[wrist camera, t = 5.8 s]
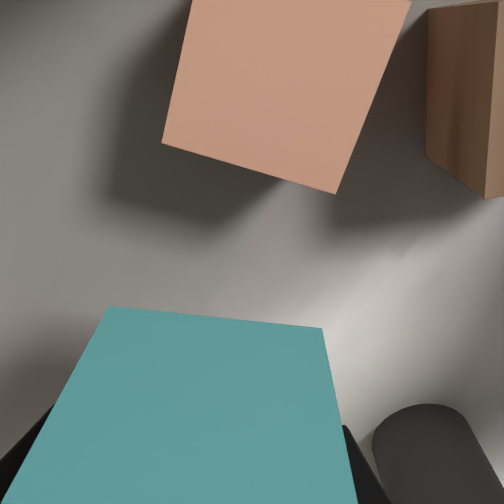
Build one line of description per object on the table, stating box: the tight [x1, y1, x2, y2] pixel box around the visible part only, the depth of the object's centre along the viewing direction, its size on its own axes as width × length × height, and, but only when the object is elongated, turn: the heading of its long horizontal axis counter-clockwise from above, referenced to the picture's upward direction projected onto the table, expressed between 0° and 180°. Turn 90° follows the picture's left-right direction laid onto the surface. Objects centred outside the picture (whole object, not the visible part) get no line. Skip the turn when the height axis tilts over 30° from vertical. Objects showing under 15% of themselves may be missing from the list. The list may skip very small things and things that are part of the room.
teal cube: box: [1, 306, 358, 504], centre depth 10 cm, size 5×5×5 cm
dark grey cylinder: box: [372, 404, 504, 504], centre depth 22 cm, size 5×5×5 cm
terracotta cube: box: [162, 0, 411, 194], centre depth 14 cm, size 5×5×5 cm
